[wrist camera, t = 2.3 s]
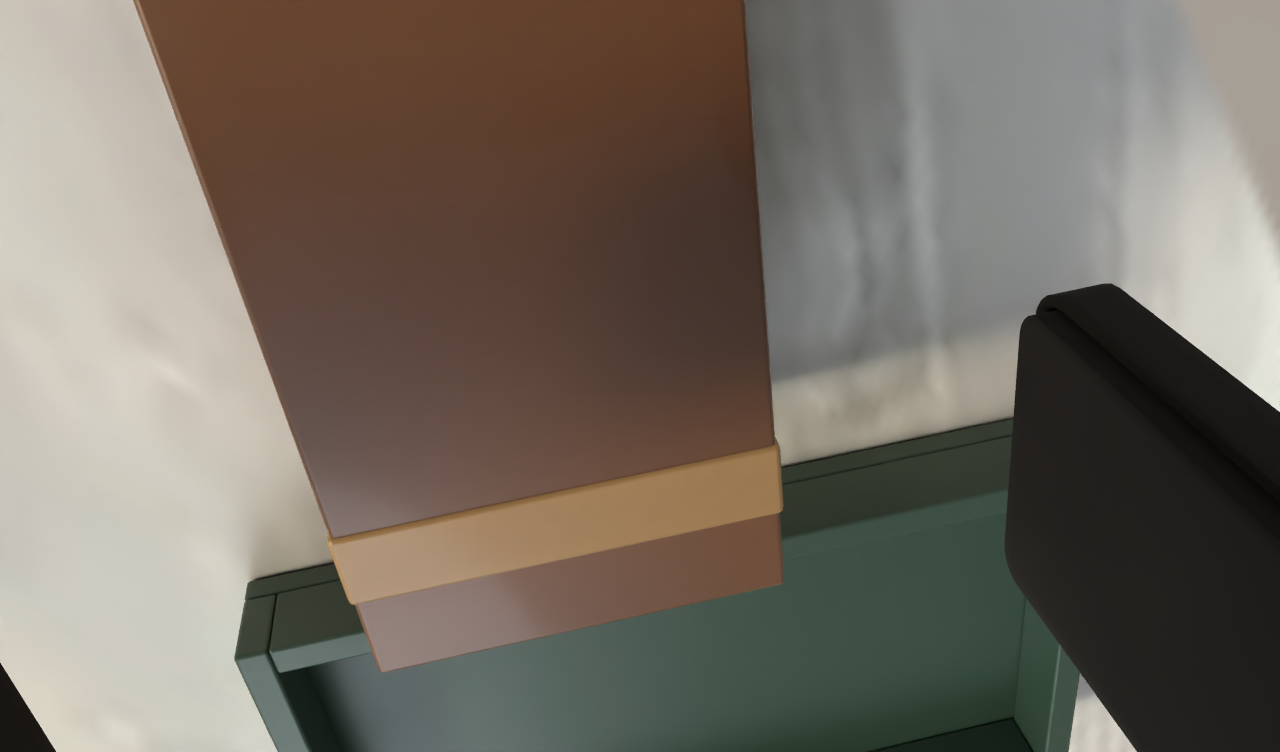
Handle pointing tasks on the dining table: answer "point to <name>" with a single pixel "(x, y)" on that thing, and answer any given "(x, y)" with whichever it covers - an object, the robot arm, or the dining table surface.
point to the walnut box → (499, 296)
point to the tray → (725, 641)
